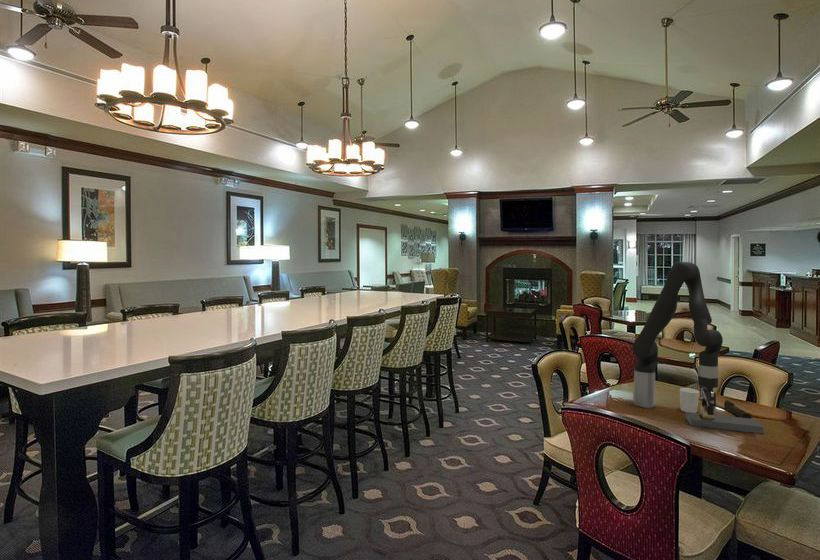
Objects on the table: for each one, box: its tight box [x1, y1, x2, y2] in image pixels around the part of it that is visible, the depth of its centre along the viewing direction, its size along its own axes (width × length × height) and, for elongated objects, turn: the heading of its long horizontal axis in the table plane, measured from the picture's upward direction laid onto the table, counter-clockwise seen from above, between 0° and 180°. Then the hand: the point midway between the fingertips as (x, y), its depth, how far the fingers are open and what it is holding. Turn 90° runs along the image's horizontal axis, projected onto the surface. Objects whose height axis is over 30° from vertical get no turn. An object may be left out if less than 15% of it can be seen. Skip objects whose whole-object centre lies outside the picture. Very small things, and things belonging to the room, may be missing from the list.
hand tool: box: [723, 399, 753, 419], centre depth 209 cm, size 19×4×5 cm, turn 168°
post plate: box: [685, 412, 764, 435], centre depth 194 cm, size 26×10×3 cm, turn 70°
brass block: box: [699, 403, 713, 420], centre depth 196 cm, size 4×4×8 cm
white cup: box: [679, 387, 700, 413], centre depth 214 cm, size 8×8×10 cm
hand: (707, 411), depth 196 cm, fingers open, 8 cm apart
